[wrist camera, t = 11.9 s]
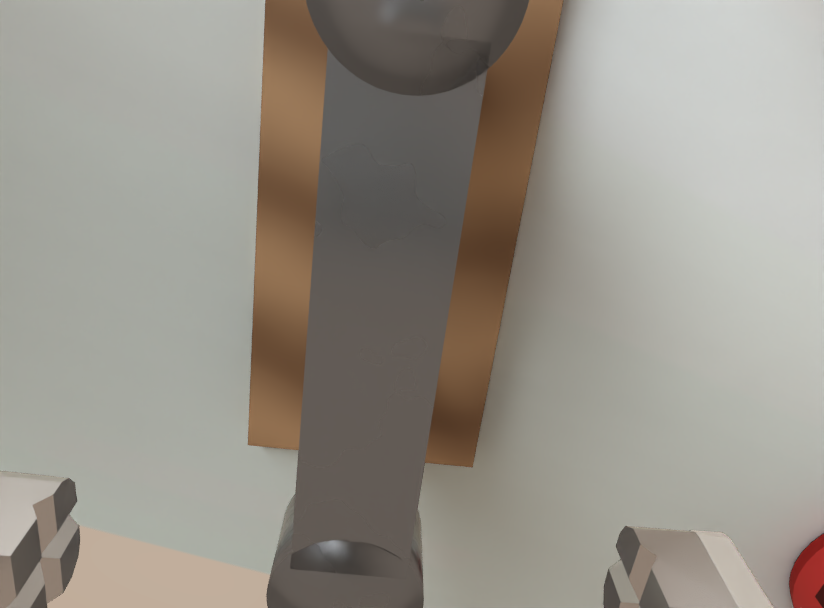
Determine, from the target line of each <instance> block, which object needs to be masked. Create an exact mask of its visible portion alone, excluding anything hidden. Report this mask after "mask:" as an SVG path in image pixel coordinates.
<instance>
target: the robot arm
mask: <svg viewBox="0 0 824 608" xmlns="http://www.w3.org/2000/svg"><path fill="white" fill-rule="evenodd" d="M76 502H77V496H76V489H75V482H73V481H72V480H71V479H70V478H64V477H55V476H46V475H37V474H28V473H18V472H9V471H0V608H47V603H49V602H50V601H52V600H53V599H55V598H56V597H58V596H60V595H61V594H62V593H63V592H64V591H65V589H66V587H67V585H68V583H69V581H70V579H71V577H72V575H73V571H74V568H75V565H76V562H77V559H78V554H79V545H80V531H79V525H78V524H77V523H76V522H75V521H74V519H73V518H72V517H71V516H70V515H69V513H70V512H71V510H72V508H73V507H74V505H75V504H76ZM616 548H617V550H618V553H619V555H620V558H621V559H620V560H619V561H618V562H616V563H615V564H614V565H612V566H611V567H610V568H609V569H608V573H607V576H606V580H605V584H604V602H603V605H604V608H774V607H773V606H772V604H771V602H770V601H769V599H768V598H767V596H766V595H765V593H764V591H763V590H762V588H761V587H760V585H759V583H758V582H757V580H756V579H755V577H754V575H753V574H752V572H751V571H750V569H749V568H748V566H747V564H746V563H745V561H744V560H743V558H742V556H741V555H740V553H739V552H738V550H737V548H736V547H735V545H734V544H733V542H732V541H731V539H730V538H729V537H728V536H727V535H725V534H724V533H723V532H711V531H695V530H690V531H684V530H672V529H659V528H647V527H634V526H625V527H624V529H623V530H622V531H621V533H620V535H619V538H618V541H617V544H616Z"/></svg>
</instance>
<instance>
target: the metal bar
mask: <svg viewBox="0 0 824 608" xmlns="http://www.w3.org/2000/svg"><path fill="white" fill-rule="evenodd" d="M306 3H307V7H308V11H309V13H310V16H311V19H312V21H313V24H314V26H315V28H316V30H317V32H318V34H319V36H320V38H321V39H322V41H323V42H324V44H325V45H326V47H327V48H328V52H327V66H326V79H325V93H324V107H323V121H322V135H321V149H320V162H319V176H318V190H317V204H316V218H315V231H314V245H313V259H312V273H311V287H310V301H309V314H308V328H307V342H306V356H305V370H304V384H303V397H302V411H301V425H300V439H299V453H298V467H297V480H296V494H295V495H294V496H293V498H292V499H291V501H290V503H289V504H288V506H287V509H286V512H285V516H284V520H283V524H282V528H281V533H280V537H279V541H278V545H277V550H276V554H275V558H274V562H273V566H272V571H271V575H270V579H269V584H268V588H267V606H268V608H423V601H424V597H423V565H422V534H421V519H420V515H419V512H418V509H417V508H418V502H419V495H420V489H421V483H422V477H423V470H424V464H425V458H426V451H427V445H428V439H429V433H430V426H431V420H432V414H433V408H434V401H435V395H436V389H437V382H438V376H439V370H440V364H441V357H442V351H443V345H444V339H445V332H446V326H447V320H448V313H449V307H450V301H451V295H452V288H453V282H454V276H455V270H456V263H457V257H458V251H459V244H460V238H461V232H462V226H463V219H464V213H465V207H466V201H467V194H468V188H469V182H470V175H471V169H472V163H473V157H474V150H475V144H476V138H477V132H478V125H479V119H480V113H481V106H482V100H483V94H484V88H485V81H486V75H487V69H488V68H490V67H491V66H492V65H493V64H494V63H495V62H496V61H497V60H498V59H499V58H500V56H501V55H502V54H503V53H504V52H505V51H506V49H507V48H508V46H509V45H510V43H511V42H512V40H513V39H514V37H515V35H516V33H517V32H518V30H519V28H520V26H521V24H522V21H523V18H524V16H525V13H526V10H527V7H528V3H529V0H306Z"/></svg>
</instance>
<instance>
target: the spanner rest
mask: <svg viewBox="0 0 824 608" xmlns="http://www.w3.org/2000/svg"><path fill="white" fill-rule="evenodd" d="M562 5H563V0H529V3H528V7H527V10H526V13H525V16H524V18H523V21H522V24H521V26H520V28H519V30H518V32H517V33H516V35H515V37H514V39H513V40H512V42H511V43H510V45H509V46H508V48H507V49H506V51H505V52H504V53H503V54H502V55H501V56H500V58H499V59H498V60H497V61H496V62H495V63H494V64H493V65H492V66H491V67H490V68H488V69H487V75H486V81H485V88H484V94H483V100H482V106H481V113H480V119H479V125H478V132H477V138H476V144H475V150H474V157H473V163H472V169H471V175H470V182H469V188H468V194H467V201H466V207H465V213H464V219H463V226H462V232H461V238H460V244H459V251H458V257H457V263H456V270H455V276H454V282H453V288H452V295H451V301H450V307H449V313H448V320H447V326H446V332H445V339H444V345H443V351H442V357H441V364H440V370H439V376H438V382H437V389H436V395H435V401H434V408H433V414H432V420H431V426H430V433H429V439H428V445H427V451H426V458H425V463H434V464H444V465H454V466H465V467H473V462H474V457H475V452H476V446H477V441H478V436H479V431H480V426H481V421H482V416H483V411H484V405H485V400H486V395H487V390H488V385H489V380H490V375H491V369H492V364H493V359H494V354H495V349H496V344H497V339H498V334H499V328H500V323H501V318H502V313H503V308H504V303H505V298H506V292H507V287H508V282H509V277H510V272H511V267H512V262H513V257H514V251H515V246H516V241H517V236H518V231H519V226H520V221H521V215H522V210H523V205H524V200H525V195H526V190H527V185H528V180H529V174H530V169H531V164H532V159H533V154H534V149H535V144H536V138H537V133H538V128H539V123H540V118H541V113H542V108H543V103H544V97H545V92H546V87H547V82H548V77H549V72H550V67H551V61H552V56H553V51H554V46H555V41H556V36H557V31H558V26H559V20H560V15H561V10H562ZM327 52H328V48H327V47H326V45H325V44H324V42H323V41H322V39H321V38H320V36H319V34H318V32H317V30H316V28H315V26H314V24H313V21H312V19H311V16H310V13H309V11H308V7H307V3H306V0H266V1H265V26H264V51H263V76H262V101H261V127H260V152H259V177H258V202H257V228H256V253H255V278H254V303H253V328H252V354H251V379H250V404H249V429H248V445H253V446H263V447H273V448H283V449H293V450H299V439H300V425H301V411H302V397H303V384H304V370H305V356H306V342H307V328H308V314H309V301H310V287H311V273H312V259H313V245H314V231H315V218H316V204H317V190H318V176H319V162H320V149H321V135H322V121H323V107H324V93H325V79H326V66H327Z"/></svg>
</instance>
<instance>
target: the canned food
mask: <svg viewBox="0 0 824 608" xmlns="http://www.w3.org/2000/svg"><path fill="white" fill-rule="evenodd" d="M789 587H790V594H791V598H792V602H793V606H794V608H824V534H822V535H821V536H820V537H818V538H817V539H815V540H814V541H813V542H811V543H810V544H809V545H808V547H807V548H806V549H805V550H804V551H803V552H802V553H801V554H800V556H799V557H798V559H797V560H796V562H795V564H794V566H793V569H792V571H791V575H790V581H789Z"/></svg>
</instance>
